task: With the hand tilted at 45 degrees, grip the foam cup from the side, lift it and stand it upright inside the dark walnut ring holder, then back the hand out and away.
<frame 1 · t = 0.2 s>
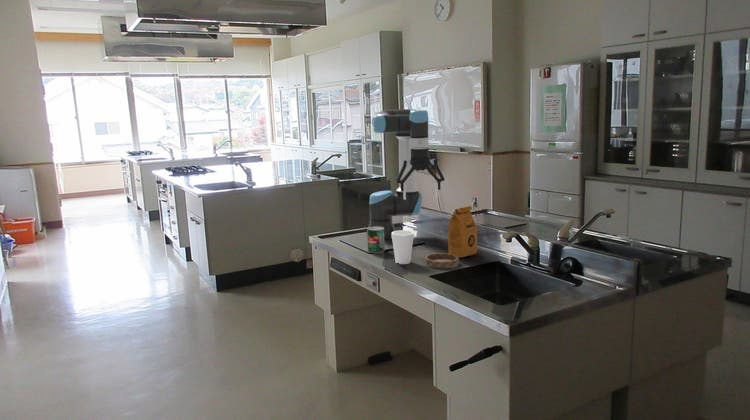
hand: (420, 198, 228), 28 cm above the table, tool pointing down, fingers open, 13 cm apart
walnut ring holder: (441, 263, 229), on the table
canned tomato: (376, 251, 251), on the table
foam cup: (402, 262, 232), on the table
coffee package: (462, 255, 241), on the table
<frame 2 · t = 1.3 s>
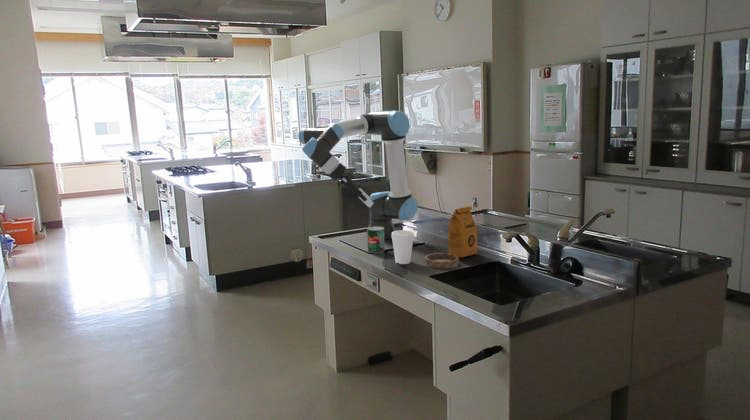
hand: (370, 202, 230), 26 cm above the table, tool tilted 45°, fingers open, 13 cm apart
nothing on the table moved.
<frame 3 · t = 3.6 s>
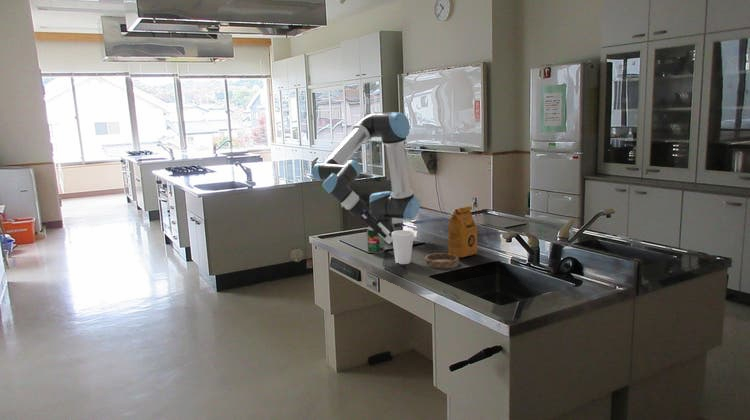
hand: (389, 238, 229), 11 cm above the table, tool tilted 45°, fingers open, 13 cm apart
nothing on the table moved.
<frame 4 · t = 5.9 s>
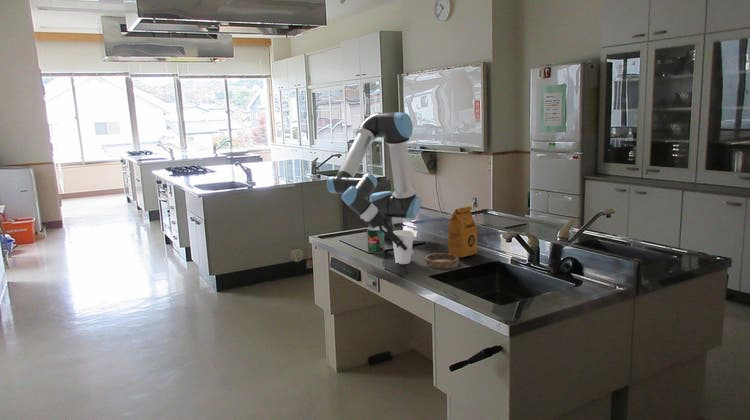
hand: (409, 250, 232), 5 cm above the table, tool tilted 45°, fingers closed on foam cup, 9 cm apart
foam cup: (402, 262, 232), on the table, touching gripper
everything else where it was.
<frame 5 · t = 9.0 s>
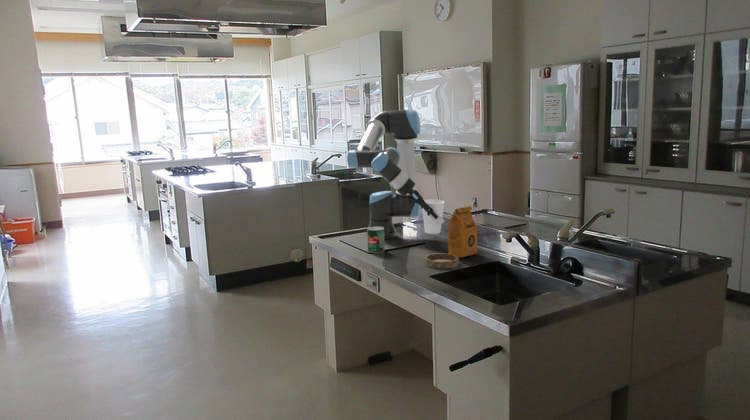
hand: (440, 220, 225), 19 cm above the table, tool tilted 45°, fingers closed on foam cup, 9 cm apart
foam cup: (432, 232, 226), point 14 cm above the table, touching gripper
everything else where it was.
when the fingers open (7 cm above the table, at t = 12.0 s): foam cup drops 1 cm, resting on walnut ring holder.
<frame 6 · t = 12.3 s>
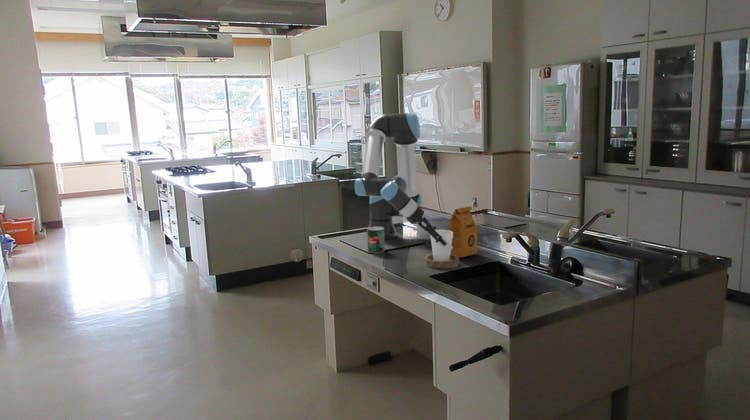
hand: (447, 245, 227), 8 cm above the table, tool tilted 45°, fingers open, 13 cm apart
foam cup: (441, 262, 228), point 1 cm above the table, touching walnut ring holder
everything else where it was.
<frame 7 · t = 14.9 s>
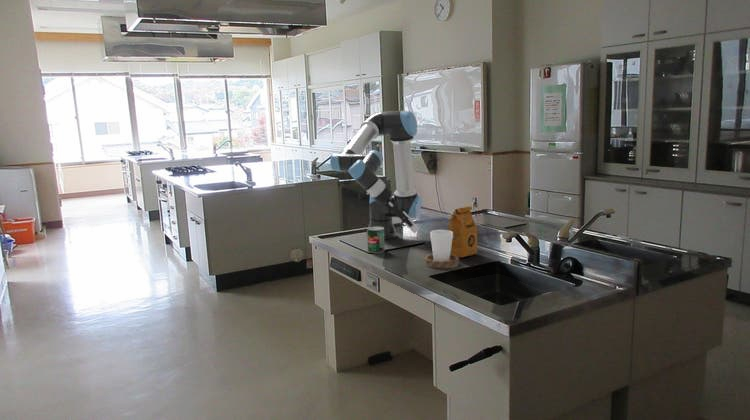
hand: (414, 227, 226), 16 cm above the table, tool tilted 45°, fingers open, 13 cm apart
nothing on the table moved.
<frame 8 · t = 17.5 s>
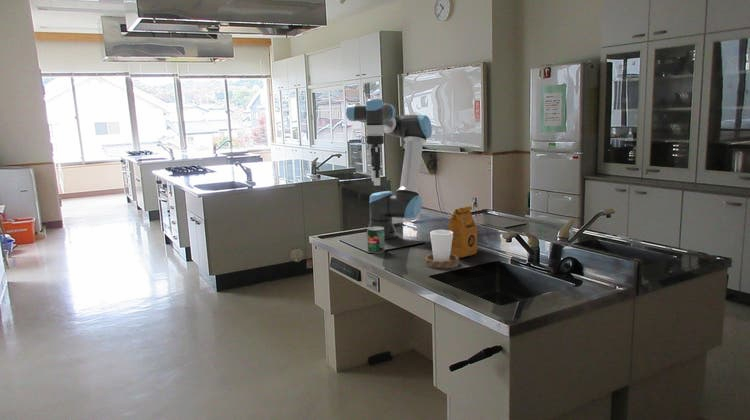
hand: (375, 183, 239), 33 cm above the table, tool pointing down, fingers open, 13 cm apart
nothing on the table moved.
at the end: foam cup 0.1 cm off-centre on the walnut ring holder, point 0.6 cm above the walnut ring holder's base; foam cup tilted 0°; the gripper is holding nothing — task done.
